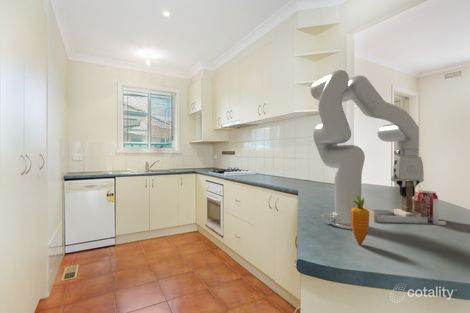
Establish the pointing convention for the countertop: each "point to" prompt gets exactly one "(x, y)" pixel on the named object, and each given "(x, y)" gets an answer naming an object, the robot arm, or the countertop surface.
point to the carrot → (359, 220)
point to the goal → (434, 212)
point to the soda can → (427, 202)
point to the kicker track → (393, 217)
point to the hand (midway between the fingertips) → (407, 195)
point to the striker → (410, 204)
